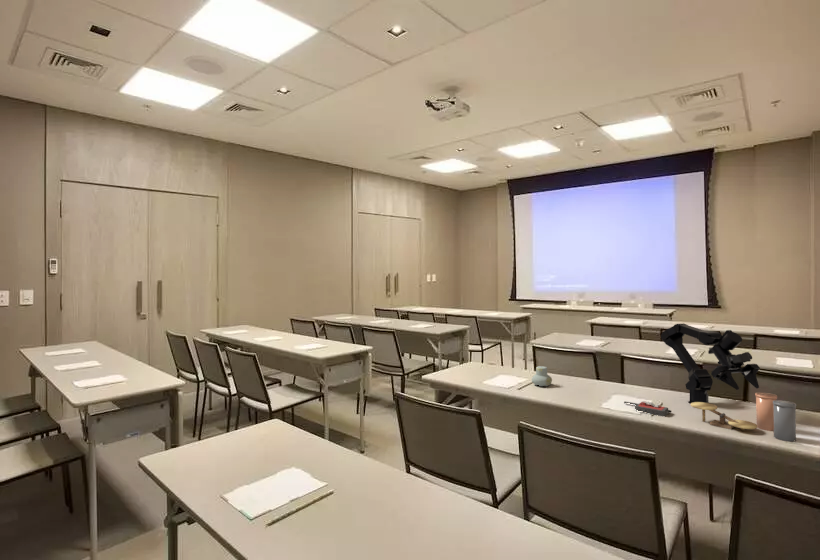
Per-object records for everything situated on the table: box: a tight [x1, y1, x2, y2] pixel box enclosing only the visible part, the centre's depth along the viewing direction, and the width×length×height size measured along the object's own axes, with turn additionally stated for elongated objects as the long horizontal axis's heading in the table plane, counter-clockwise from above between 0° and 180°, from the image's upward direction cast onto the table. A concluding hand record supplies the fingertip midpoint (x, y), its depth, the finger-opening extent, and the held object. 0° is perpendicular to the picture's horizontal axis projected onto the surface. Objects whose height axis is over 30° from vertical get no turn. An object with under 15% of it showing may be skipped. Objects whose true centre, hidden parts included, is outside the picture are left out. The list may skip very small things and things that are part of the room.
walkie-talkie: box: [623, 400, 672, 417], centre depth 197 cm, size 9×4×20 cm
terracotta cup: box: [754, 392, 778, 432], centre depth 172 cm, size 7×7×13 cm
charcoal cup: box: [773, 399, 797, 442], centre depth 162 cm, size 7×7×13 cm
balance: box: [690, 402, 757, 431], centre depth 176 cm, size 22×9×7 cm, turn 39°
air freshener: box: [531, 365, 553, 387], centre depth 243 cm, size 11×8×10 cm
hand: (748, 388), depth 180 cm, fingers open, 9 cm apart
